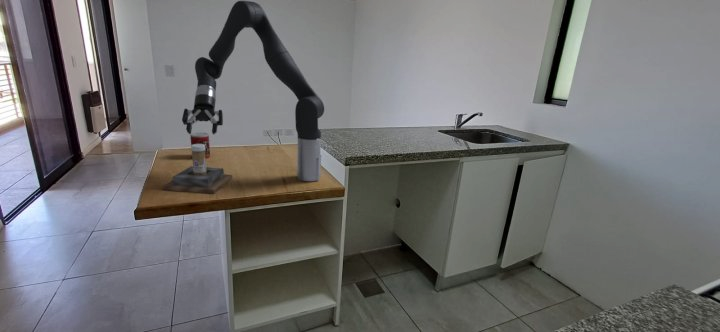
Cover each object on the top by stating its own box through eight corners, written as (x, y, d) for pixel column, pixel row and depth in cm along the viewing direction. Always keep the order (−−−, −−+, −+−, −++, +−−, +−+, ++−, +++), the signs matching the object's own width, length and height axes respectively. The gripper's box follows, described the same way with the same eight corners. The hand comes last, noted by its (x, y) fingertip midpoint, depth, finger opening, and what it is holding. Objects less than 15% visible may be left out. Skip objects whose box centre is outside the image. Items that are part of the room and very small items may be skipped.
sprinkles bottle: (192, 181, 122) (189, 146, 118) (195, 177, 126) (193, 143, 122) (205, 181, 123) (203, 146, 119) (208, 177, 127) (206, 143, 123)
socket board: (232, 178, 132) (232, 167, 131) (214, 193, 117) (213, 181, 116) (187, 175, 132) (186, 164, 131) (163, 189, 117) (162, 177, 116)
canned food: (199, 160, 151) (197, 136, 148) (188, 157, 155) (186, 133, 152) (213, 157, 158) (212, 134, 154) (203, 153, 162) (201, 131, 158)
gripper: (183, 92, 130) (178, 127, 123) (222, 94, 133) (219, 128, 126) (188, 104, 136) (183, 138, 129) (225, 105, 140) (222, 138, 132)
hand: (201, 133), depth 128 cm, fingers open, 8 cm apart
